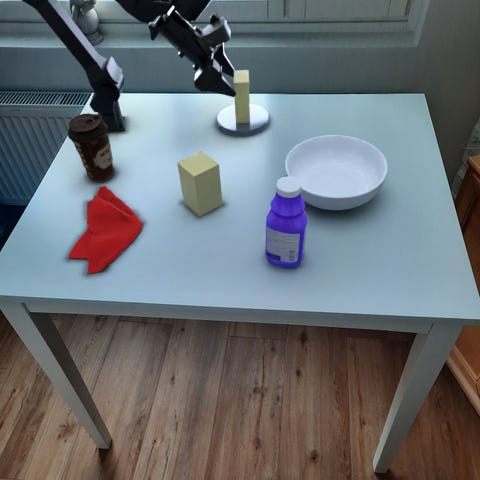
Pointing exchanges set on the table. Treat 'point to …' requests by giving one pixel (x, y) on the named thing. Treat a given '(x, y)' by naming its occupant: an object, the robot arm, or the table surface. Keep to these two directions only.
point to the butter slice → (242, 96)
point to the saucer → (256, 125)
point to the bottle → (286, 225)
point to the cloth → (106, 230)
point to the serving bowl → (337, 171)
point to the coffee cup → (92, 146)
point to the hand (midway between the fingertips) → (235, 85)
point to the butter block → (200, 183)
